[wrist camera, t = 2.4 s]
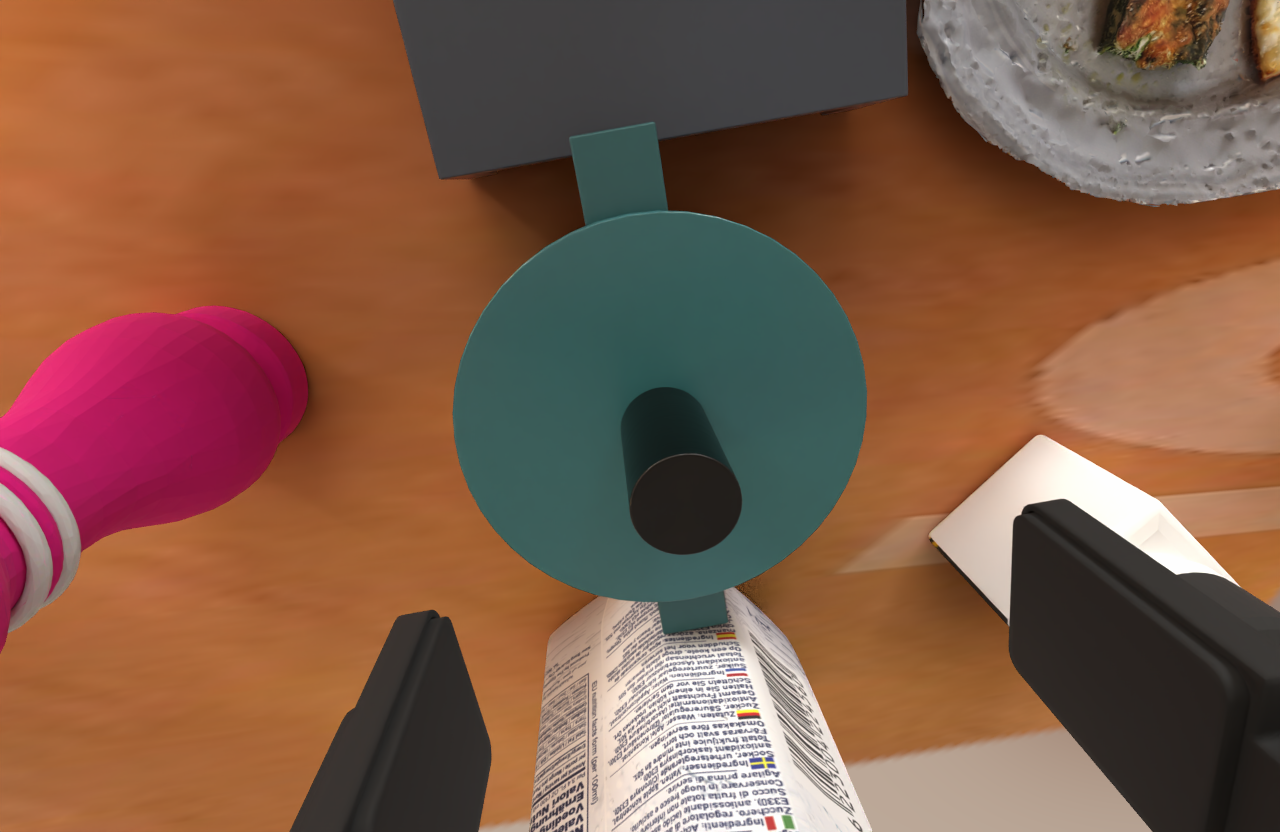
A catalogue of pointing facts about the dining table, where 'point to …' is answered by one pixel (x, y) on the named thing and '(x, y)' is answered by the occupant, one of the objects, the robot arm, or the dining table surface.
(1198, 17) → the food plate
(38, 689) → the dining table surface
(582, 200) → the pot
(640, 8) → the grey stepped block
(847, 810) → the juice carton
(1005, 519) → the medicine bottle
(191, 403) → the pepper mill
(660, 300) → the lid
